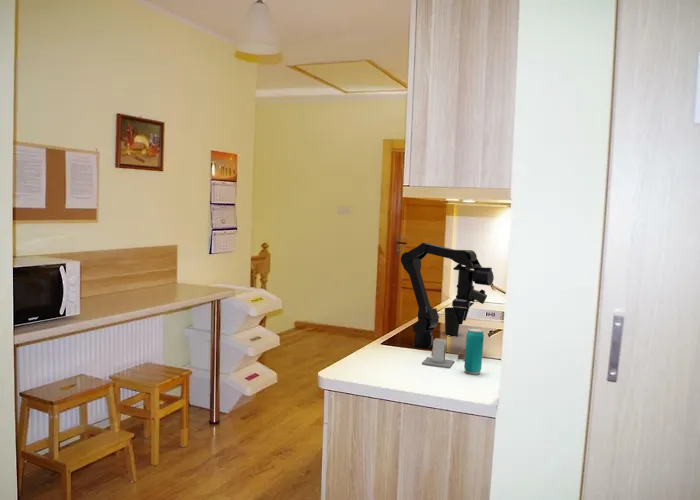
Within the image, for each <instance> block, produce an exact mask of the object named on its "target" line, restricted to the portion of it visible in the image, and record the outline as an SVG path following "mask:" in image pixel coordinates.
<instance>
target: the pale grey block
mask: <svg viewBox="0 0 700 500" xmlns="http://www.w3.org/2000/svg"><path fill="white" fill-rule="evenodd" d="M432 350H433V354H432V353H431V357H432V362H434V363H441V364H443V363H444V362H445V359H446V351H447V339H445V338H437V337H436V338H434V339H433V341H432Z"/></svg>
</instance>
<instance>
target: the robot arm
mask: <svg viewBox="0 0 700 500" xmlns="http://www.w3.org/2000/svg"><path fill="white" fill-rule="evenodd" d="M428 254H429V255H434V256H437V257H442V258H446V259H450V260H451V261H453V262H455V263H456V264H457V265H456V266H454V267H453V268H452V269H453V270H454V271H458V274H457V284H456V288H457V289H456V295H455V298H454V299H453V300H452V303H451V306H452V308H454V311H455V314H456V316H457V319H458V322H459V324H460V326H461V325H463V323H464V322H465V321H466V320H467V316H468V313H469V311H470V308H471V307H472V306H473V305H474V303H475V301H477V302H479V304H484V303H485V302H486V299H487V297H488V295H487V294H486V290H485V289H480V290H476V289H475V286H474V285H473V283H474V284H475V285H483V286H489V287H490V286H492V285H493V283H494V278H495V277H494V272H493V268H492V267H489V266H488V267H483V266H482V265H481V263H480V262H479V260H478V258H477V257H478V256H477V253H476V252H475V250H472V249H453V248H449V247H445V246H441V245H436V244H433V243H430V242H421V244H419V245H417V246H415V247H413V248H412V249H410V250H409V251H406V252H404V253H402V254H401V257H400V263H401V264H402V267H403V269H404V270H405V272H406V273H407V275H408V276H409V279H410V282H411V286H412V290H413V293H414V298H415V301H416V304H417V307H418V310H417V321H416V323H414V324H413V325H412V331H413V332H414V344H412V346H413V347H417V348H423V349H429V348H431V346H432V347H433V340H434V339H433V337H434V335H433V331H434V330H435V328H436V327H437V325H438V324H439V323H440V322H439V319H440V316H439V314H438V309H437V308H436V307H434V308H433V307H432V306H431V303H430V301H429V298H428V293H427V290H426V286H425V283H424V279H423V277H422V272H421V269H422V260H423V259H424V258H425V257H427V255H428Z"/></svg>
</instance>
